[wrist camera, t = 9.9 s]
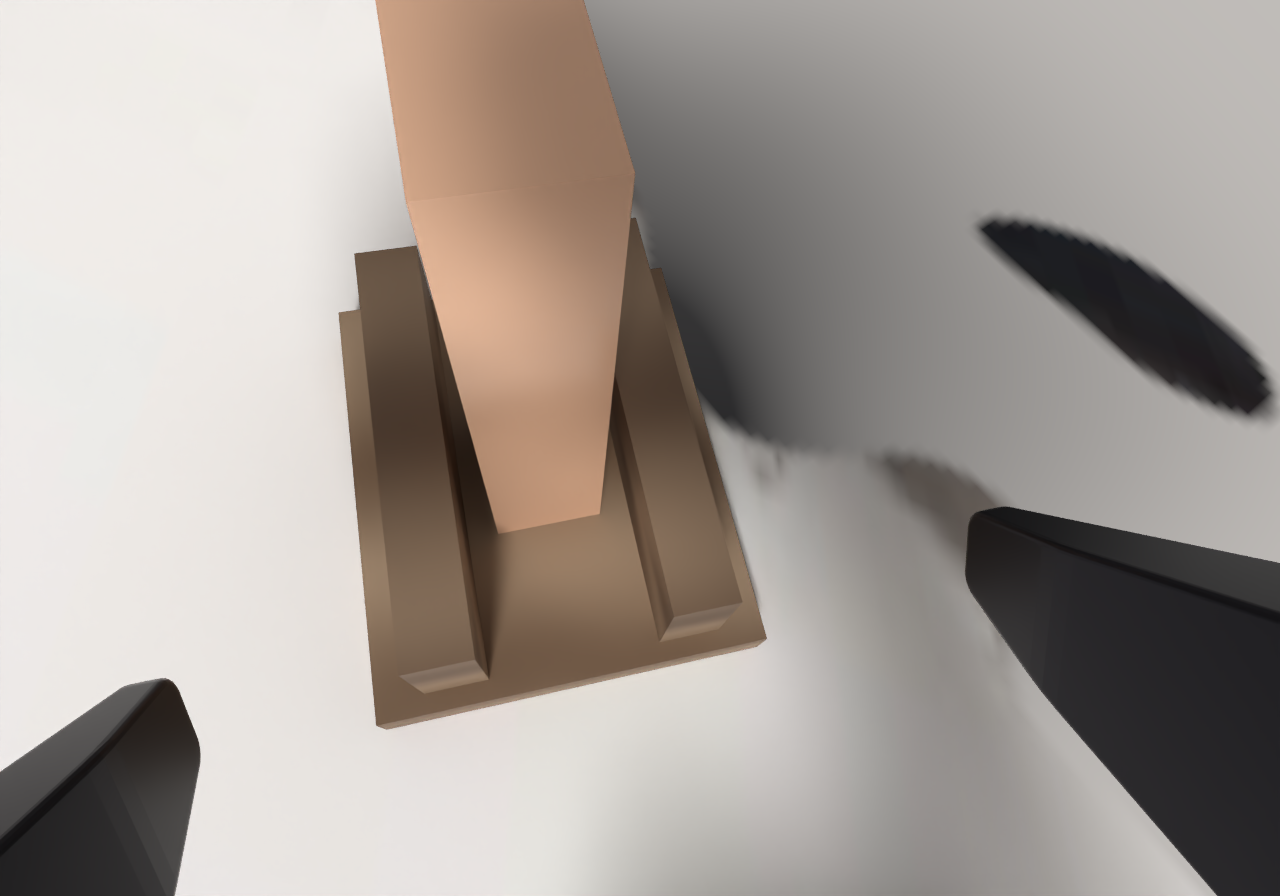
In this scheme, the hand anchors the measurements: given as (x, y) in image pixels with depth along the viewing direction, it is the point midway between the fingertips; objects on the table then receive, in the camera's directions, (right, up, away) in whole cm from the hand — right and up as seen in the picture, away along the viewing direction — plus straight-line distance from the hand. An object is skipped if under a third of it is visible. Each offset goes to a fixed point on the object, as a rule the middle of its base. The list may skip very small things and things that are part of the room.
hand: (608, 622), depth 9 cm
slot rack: (-3, +1, +14) cm, 15 cm away
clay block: (-3, +2, +13) cm, 14 cm away
